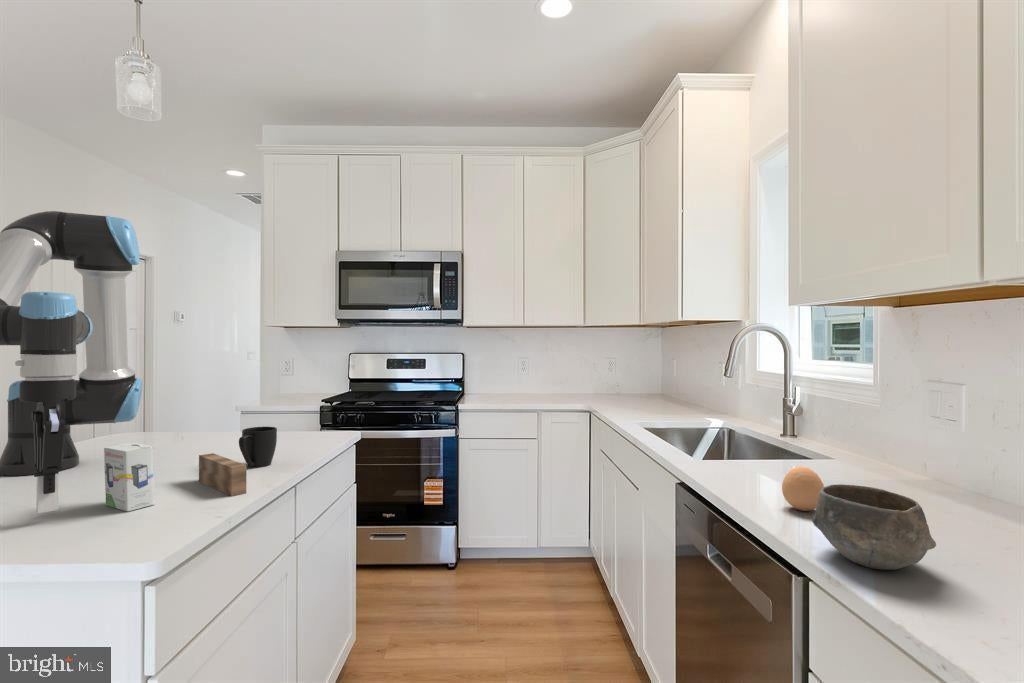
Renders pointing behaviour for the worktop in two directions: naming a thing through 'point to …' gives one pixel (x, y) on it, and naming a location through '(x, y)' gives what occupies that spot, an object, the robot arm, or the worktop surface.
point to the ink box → (129, 476)
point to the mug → (258, 445)
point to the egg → (802, 488)
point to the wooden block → (222, 474)
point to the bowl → (873, 526)
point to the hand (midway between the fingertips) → (47, 510)
